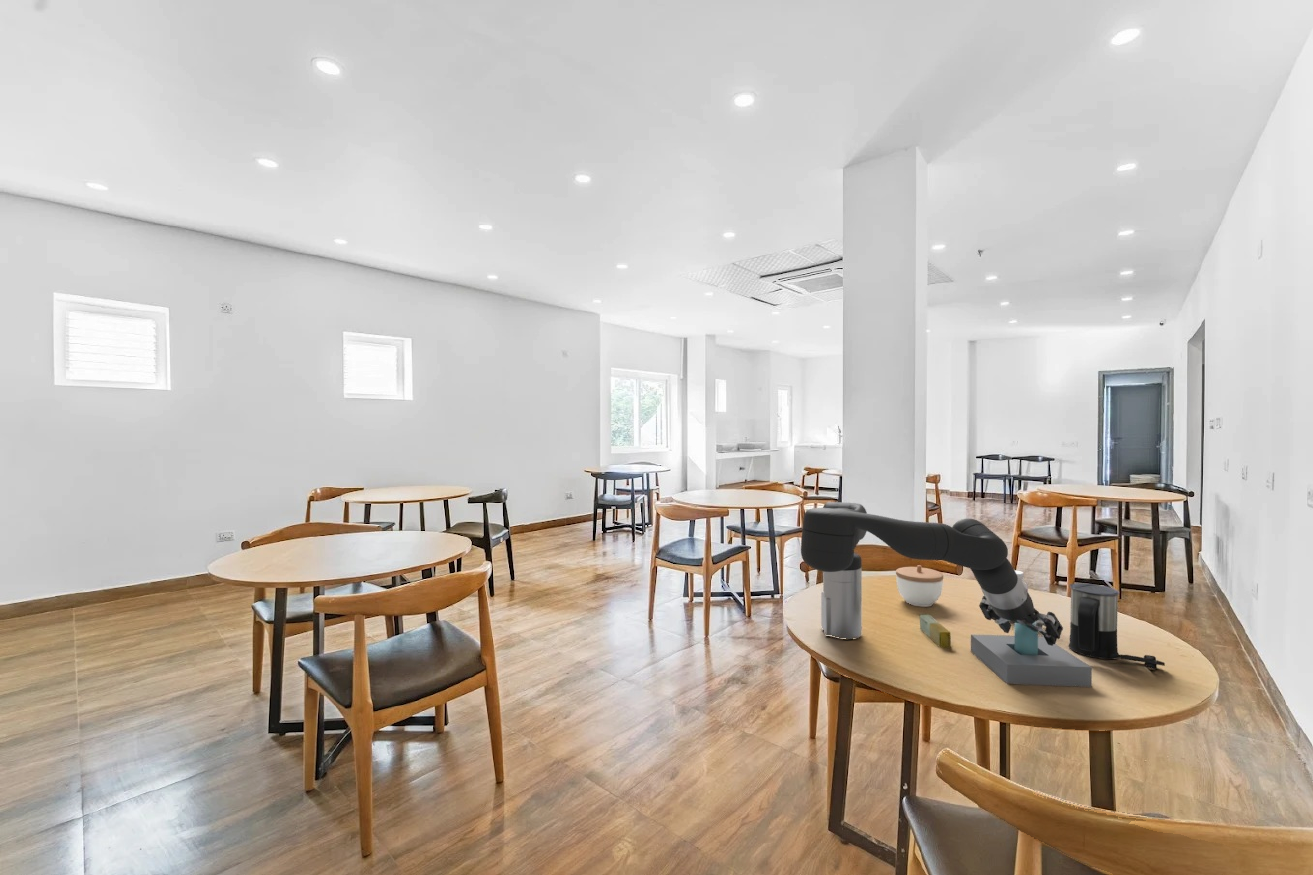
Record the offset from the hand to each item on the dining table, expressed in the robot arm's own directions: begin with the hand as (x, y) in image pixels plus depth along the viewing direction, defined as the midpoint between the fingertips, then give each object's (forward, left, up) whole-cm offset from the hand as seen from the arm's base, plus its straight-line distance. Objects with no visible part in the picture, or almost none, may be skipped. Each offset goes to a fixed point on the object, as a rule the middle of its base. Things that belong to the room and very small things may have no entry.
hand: (1029, 635), depth 120 cm
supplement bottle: (+12, +30, -7) cm, 33 cm away
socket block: (-1, -1, -7) cm, 7 cm away
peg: (-1, -1, -7) cm, 7 cm away
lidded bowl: (-8, +42, -7) cm, 44 cm away
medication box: (-14, +15, -7) cm, 22 cm away
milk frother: (+21, +6, -7) cm, 23 cm away
